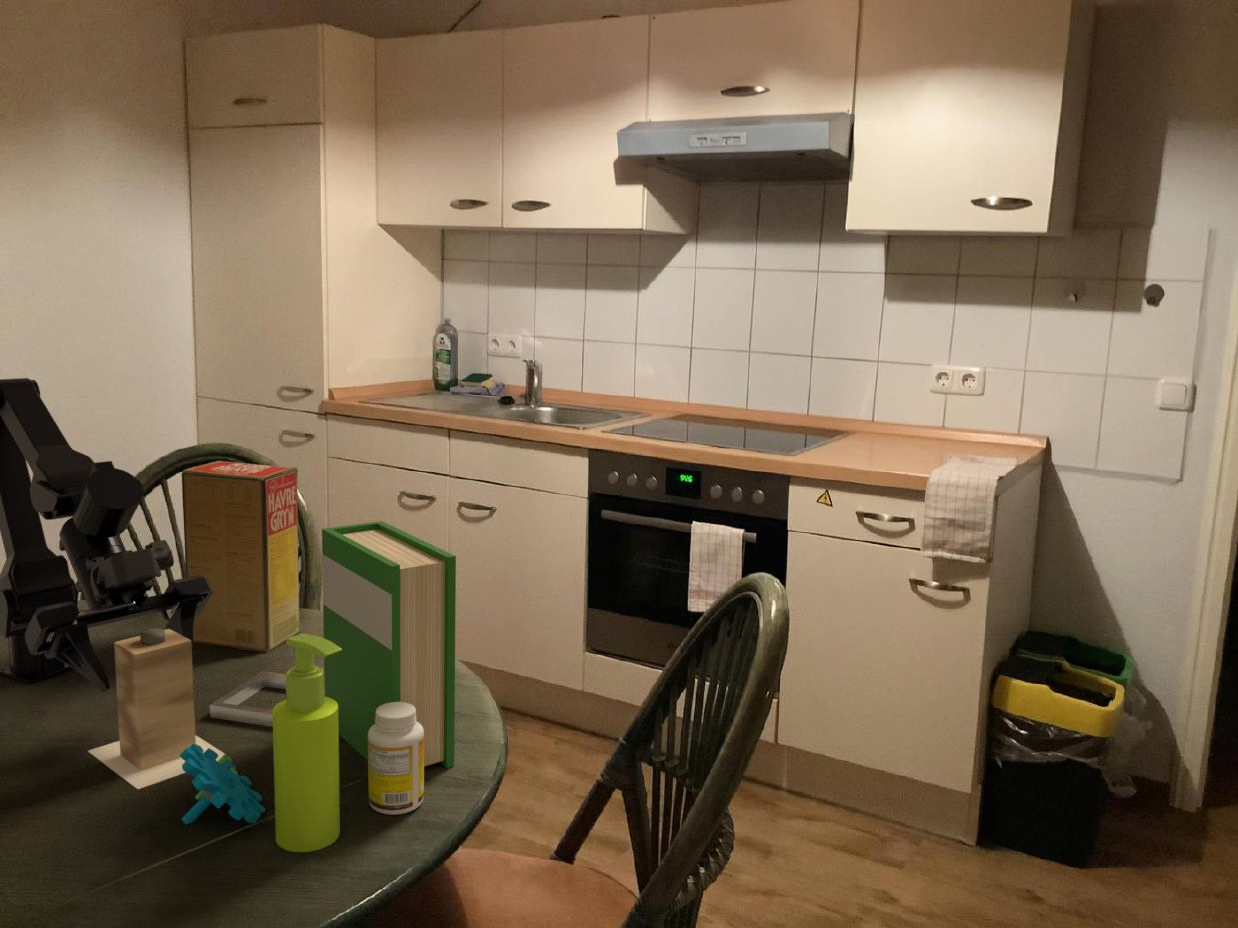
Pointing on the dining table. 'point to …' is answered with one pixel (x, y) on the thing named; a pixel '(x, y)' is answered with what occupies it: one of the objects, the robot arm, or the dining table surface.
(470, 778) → the dining table surface
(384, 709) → the supplement bottle
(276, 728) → the soap dispenser
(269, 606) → the food packaging
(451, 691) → the hardback book
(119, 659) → the block
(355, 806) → the dining table surface
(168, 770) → the beige flat slab
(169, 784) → the dining table surface
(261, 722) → the pocket
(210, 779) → the gear
